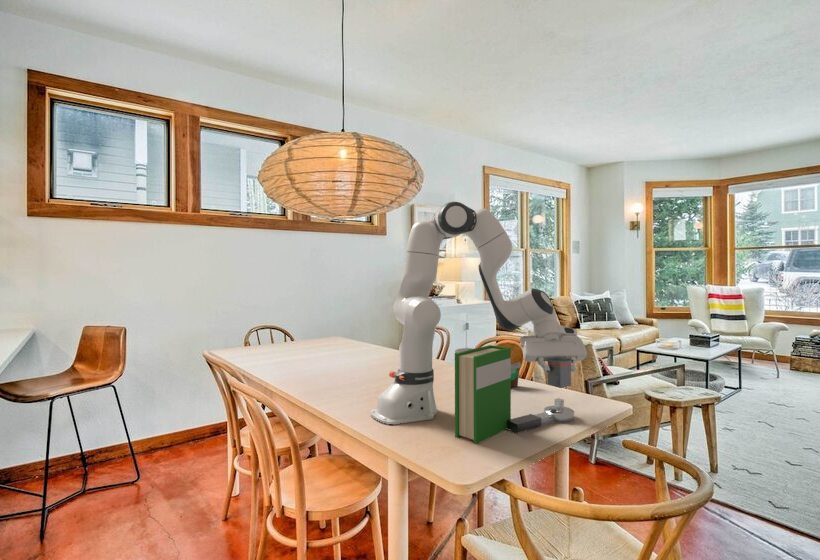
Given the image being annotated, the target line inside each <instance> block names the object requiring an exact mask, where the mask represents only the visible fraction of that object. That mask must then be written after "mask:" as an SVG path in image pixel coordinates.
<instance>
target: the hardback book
mask: <svg viewBox="0 0 820 560" xmlns="http://www.w3.org/2000/svg"><path fill="white" fill-rule="evenodd" d="M511 350H512V348H511V347H506V346H498V345H492V344H488V345H485V346H480V347H476V348H471V350H467V351H463V352H458V353H455V352H454V437H455V438H457V439H458V438H460V437H461V438H462V437H464V438H466V439H469V440H473V444H474V445H478V444H480V443H482V442H484V441H487V440H488V439H491V438H492V437H494V436H496V435H498V434H500V433H502V432H504V431H506V430H508V429H507V420H510V419H512V418H511V417H512V412H511V411H512V408H511V405H512V404H511V403H512V400H511V399H512V398H511V397H512V396H511V394H512V392H511V391H512V390H511V389H512V388H511V363H512V362H511V361H512V360H511V359H512V358H511V356H512V355H511V354H512V353H511V352H512V351H511Z"/></svg>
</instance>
